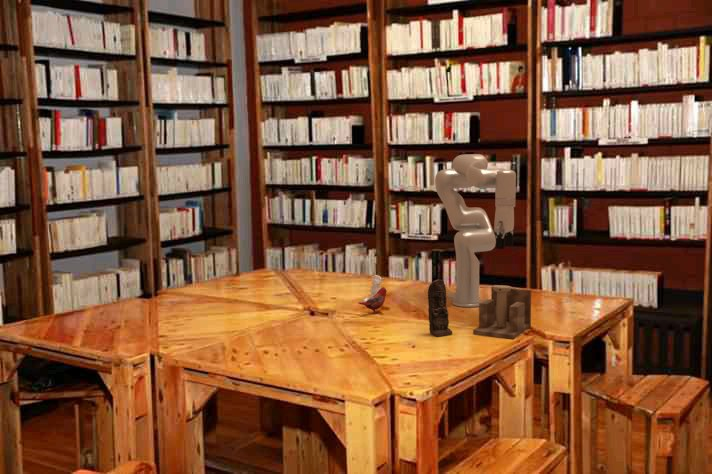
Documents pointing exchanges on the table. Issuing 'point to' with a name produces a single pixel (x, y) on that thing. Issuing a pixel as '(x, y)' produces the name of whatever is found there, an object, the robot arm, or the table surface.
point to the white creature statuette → (374, 286)
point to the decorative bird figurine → (375, 300)
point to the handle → (501, 304)
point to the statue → (438, 309)
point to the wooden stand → (516, 315)
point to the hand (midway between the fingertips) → (504, 247)
